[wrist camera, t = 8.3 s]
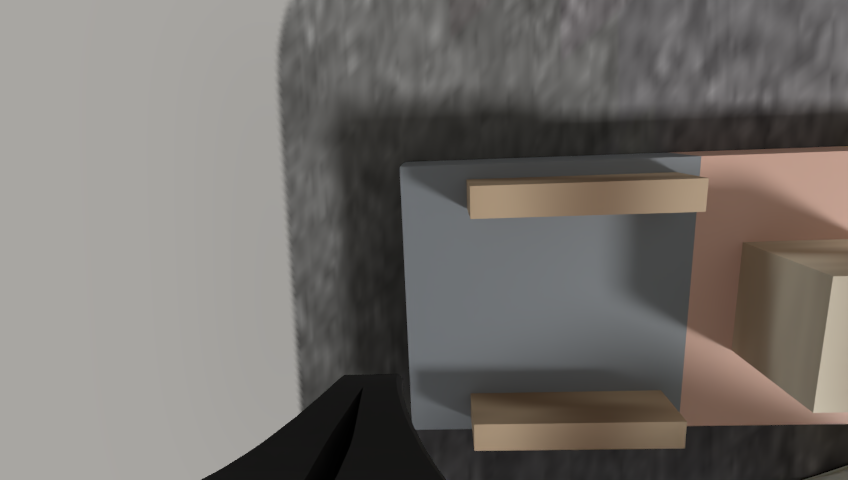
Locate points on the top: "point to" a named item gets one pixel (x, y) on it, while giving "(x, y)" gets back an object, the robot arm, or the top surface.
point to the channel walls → (592, 410)
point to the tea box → (833, 475)
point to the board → (604, 284)
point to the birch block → (796, 318)
